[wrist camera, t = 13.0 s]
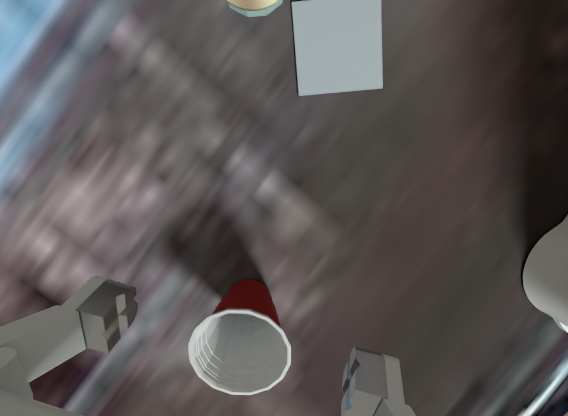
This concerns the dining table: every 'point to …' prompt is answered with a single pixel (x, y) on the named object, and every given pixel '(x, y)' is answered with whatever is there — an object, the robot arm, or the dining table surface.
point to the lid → (252, 4)
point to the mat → (337, 45)
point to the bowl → (256, 13)
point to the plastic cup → (241, 342)
